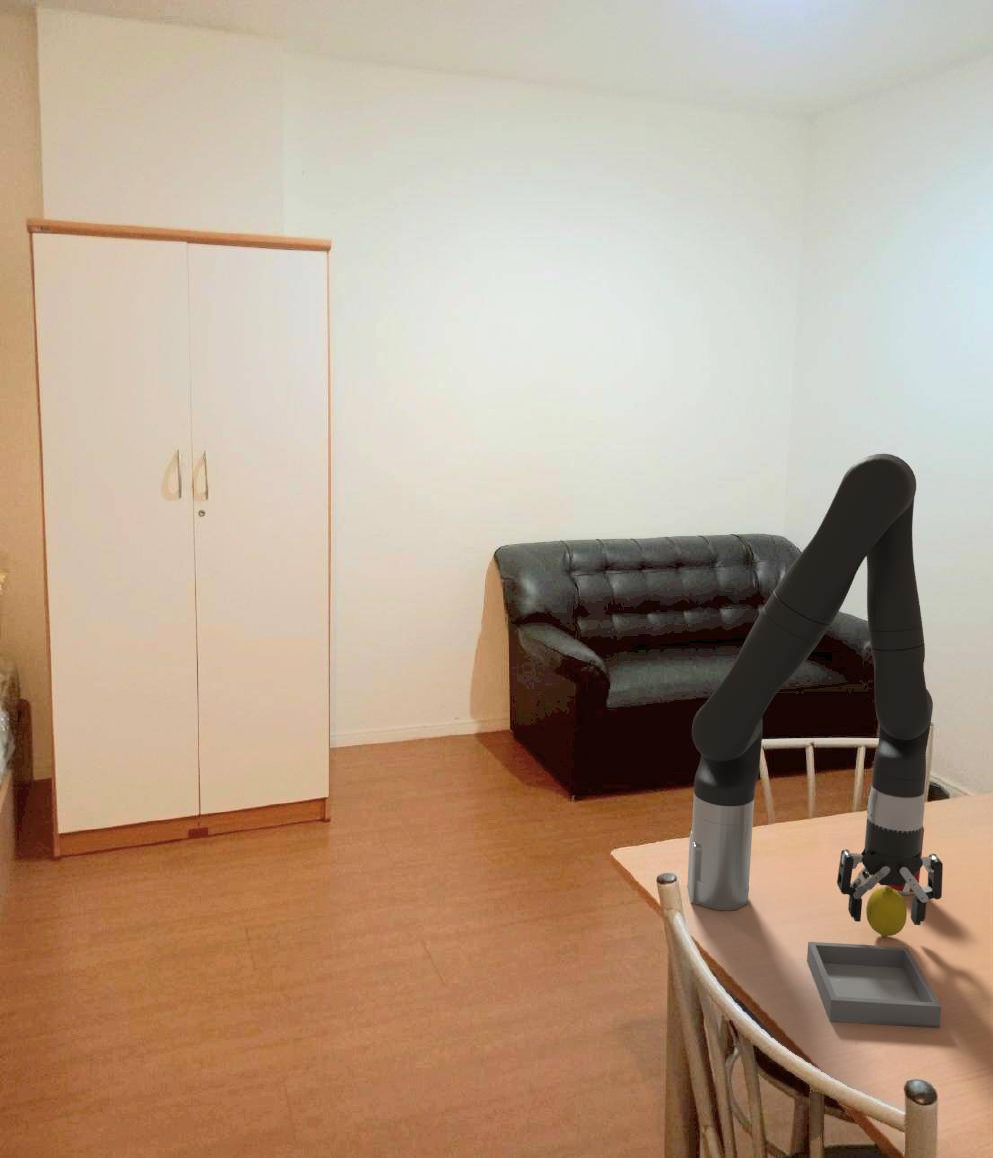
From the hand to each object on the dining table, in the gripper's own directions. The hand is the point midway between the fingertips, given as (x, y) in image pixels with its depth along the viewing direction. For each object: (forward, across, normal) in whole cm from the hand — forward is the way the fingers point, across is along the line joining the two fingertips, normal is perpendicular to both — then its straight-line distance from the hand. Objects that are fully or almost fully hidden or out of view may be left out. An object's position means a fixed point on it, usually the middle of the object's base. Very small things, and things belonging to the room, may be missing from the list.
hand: (885, 920), depth 146 cm
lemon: (+3, 0, 0) cm, 3 cm away
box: (+3, -6, -14) cm, 16 cm away
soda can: (+3, +7, +16) cm, 17 cm away
